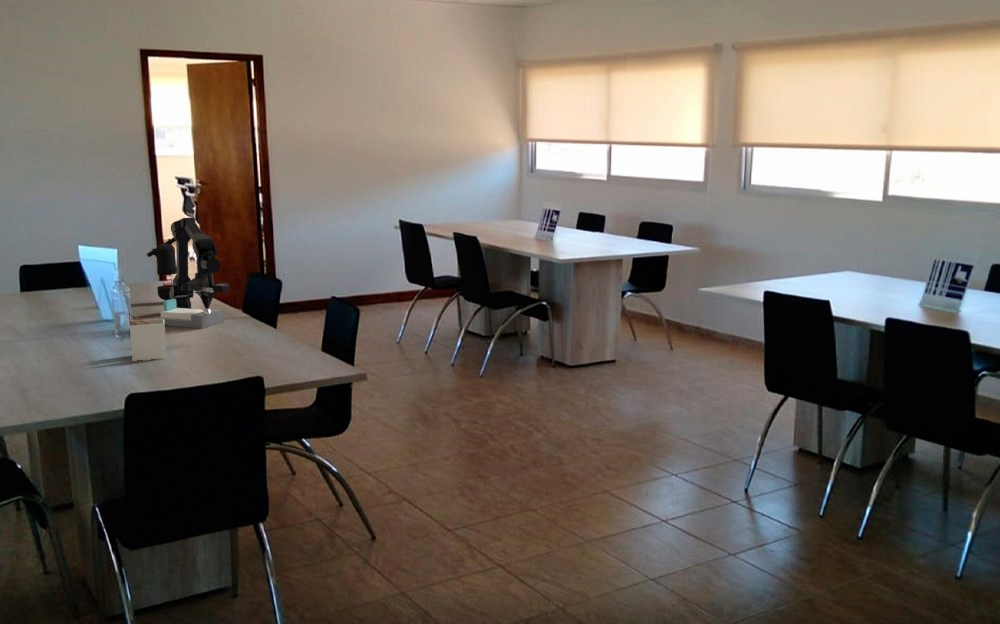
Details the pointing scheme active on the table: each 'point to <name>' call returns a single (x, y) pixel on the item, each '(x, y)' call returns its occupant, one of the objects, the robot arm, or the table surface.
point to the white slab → (177, 311)
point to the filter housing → (197, 319)
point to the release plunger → (206, 310)
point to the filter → (165, 266)
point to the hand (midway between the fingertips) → (207, 308)
